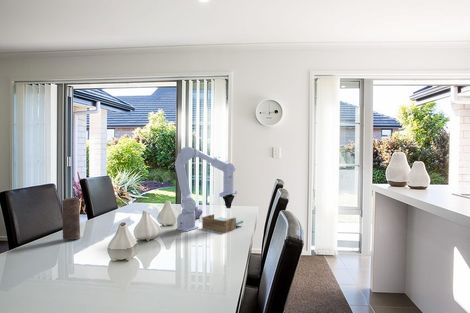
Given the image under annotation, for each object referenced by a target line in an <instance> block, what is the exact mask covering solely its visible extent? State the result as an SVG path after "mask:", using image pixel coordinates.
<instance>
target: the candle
mask: <svg viewBox="0 0 470 313" xmlns="http://www.w3.org/2000/svg"><path fill="white" fill-rule="evenodd" d="M61 208H62V210H61V211H62V212H61V213H62V218H61V220H62V239H63V240H68V241H69V240H74V239H75V240H76V239H77V240H79V239H81V222H80V197H66V198H65V199H62V200H61Z"/></svg>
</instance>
